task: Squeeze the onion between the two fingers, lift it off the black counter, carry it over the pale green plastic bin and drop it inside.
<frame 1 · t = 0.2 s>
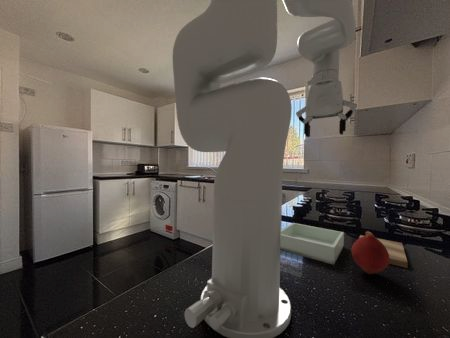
hand: (323, 135, 63), 31 cm above the countertop, tool pointing down, fingers open, 9 cm apart
bin: (309, 247, 50), on the countertop
board: (379, 251, 49), on the countertop
onion: (369, 274, 38), on the countertop
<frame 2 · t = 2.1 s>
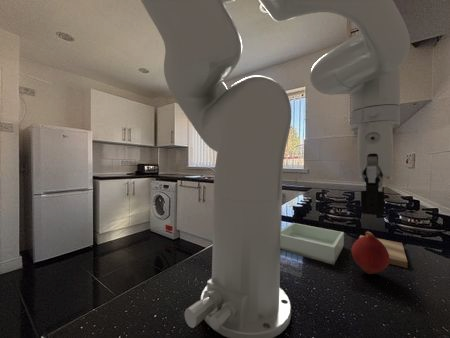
hand: (373, 209, 38), 12 cm above the countertop, tool pointing down, fingers open, 9 cm apart
nothing on the countertop moved.
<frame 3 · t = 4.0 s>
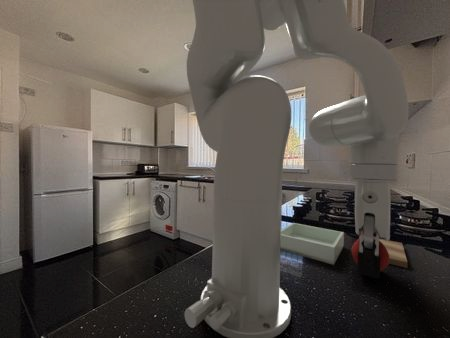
hand: (369, 267, 38), 1 cm above the countertop, tool pointing down, fingers closed on onion, 5 cm apart
onion: (369, 274, 38), on the countertop, touching gripper
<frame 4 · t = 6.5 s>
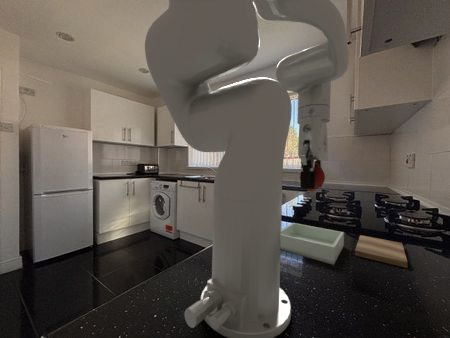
hand: (311, 186, 50), 15 cm above the countertop, tool pointing down, fingers closed on onion, 5 cm apart
onion: (311, 192, 50), point 14 cm above the countertop, touching gripper
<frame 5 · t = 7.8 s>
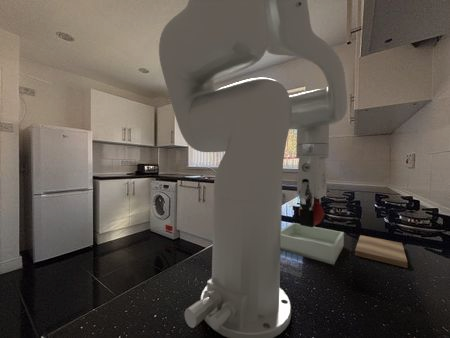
hand: (310, 222, 51), 6 cm above the countertop, tool pointing down, fingers closed on onion, 5 cm apart
onion: (310, 227, 51), point 5 cm above the countertop, touching gripper
when the fingers open (4 cm above the countertop, at t = 9.0 s): onion drops 3 cm, resting on bin.
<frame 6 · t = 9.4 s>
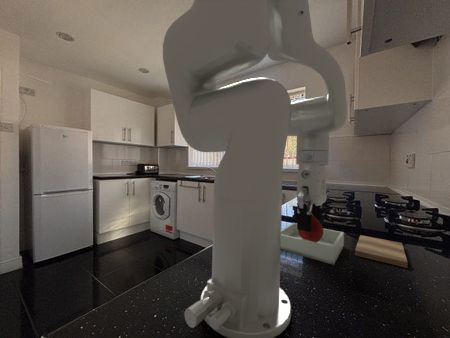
hand: (310, 226, 50), 5 cm above the countertop, tool pointing down, fingers open, 9 cm apart
onion: (309, 245, 50), resting on bin
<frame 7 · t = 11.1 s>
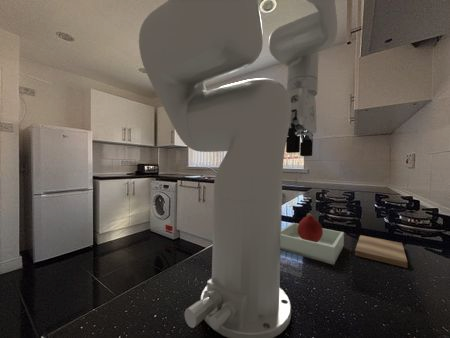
hand: (299, 154, 52), 24 cm above the countertop, tool pointing down, fingers open, 9 cm apart
nothing on the countertop moved.
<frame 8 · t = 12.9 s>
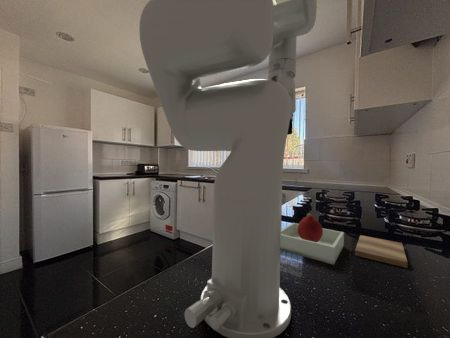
hand: (280, 131, 57), 30 cm above the countertop, tool pointing down, fingers open, 9 cm apart
nothing on the countertop moved.
at the end: onion inside the target area on the bin (0.3 cm from its centre), point 0.4 cm above the bin's base; the gripper is holding nothing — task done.
